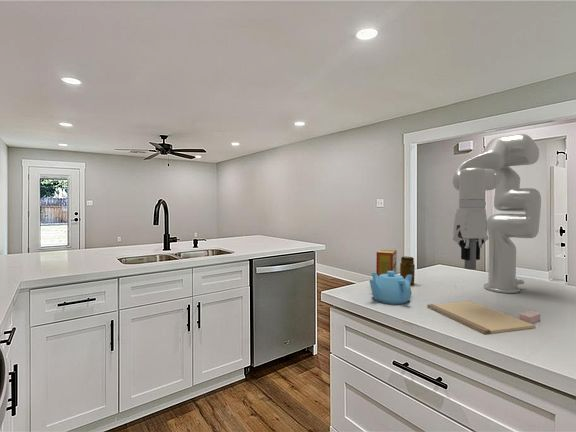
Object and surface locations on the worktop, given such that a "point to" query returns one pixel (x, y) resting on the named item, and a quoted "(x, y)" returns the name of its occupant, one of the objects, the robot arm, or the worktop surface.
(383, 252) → the baking soda box
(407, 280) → the teapot
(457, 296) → the worktop surface
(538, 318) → the eraser
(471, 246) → the marker
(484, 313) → the notepad
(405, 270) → the condiment
